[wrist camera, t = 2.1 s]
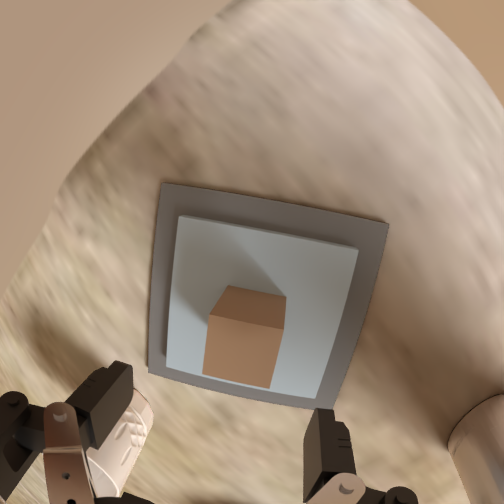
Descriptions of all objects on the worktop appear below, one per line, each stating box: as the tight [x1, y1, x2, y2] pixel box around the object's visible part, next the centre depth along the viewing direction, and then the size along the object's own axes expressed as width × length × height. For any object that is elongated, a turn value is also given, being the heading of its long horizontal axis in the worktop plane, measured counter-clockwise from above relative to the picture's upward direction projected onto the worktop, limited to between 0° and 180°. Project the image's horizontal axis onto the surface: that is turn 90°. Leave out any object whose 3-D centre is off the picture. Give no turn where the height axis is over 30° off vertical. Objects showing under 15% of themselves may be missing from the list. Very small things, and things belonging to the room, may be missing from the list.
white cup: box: [42, 389, 154, 497], centre depth 23 cm, size 8×8×10 cm
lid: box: [166, 215, 359, 399], centre depth 20 cm, size 12×12×6 cm
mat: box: [148, 183, 389, 410], centre depth 23 cm, size 16×16×1 cm
